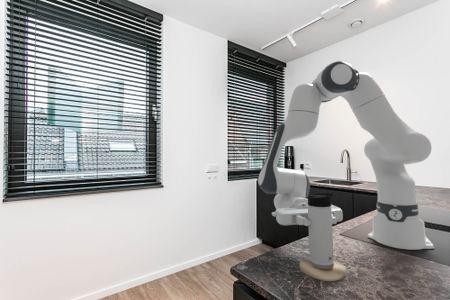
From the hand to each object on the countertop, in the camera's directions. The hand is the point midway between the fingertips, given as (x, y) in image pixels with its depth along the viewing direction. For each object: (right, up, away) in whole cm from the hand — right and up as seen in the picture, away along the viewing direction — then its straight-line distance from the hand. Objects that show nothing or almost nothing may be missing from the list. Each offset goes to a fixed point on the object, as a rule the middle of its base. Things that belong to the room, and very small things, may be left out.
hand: (321, 222), depth 64 cm
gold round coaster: (0, -14, 0) cm, 14 cm away
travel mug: (0, -12, +1) cm, 12 cm away
